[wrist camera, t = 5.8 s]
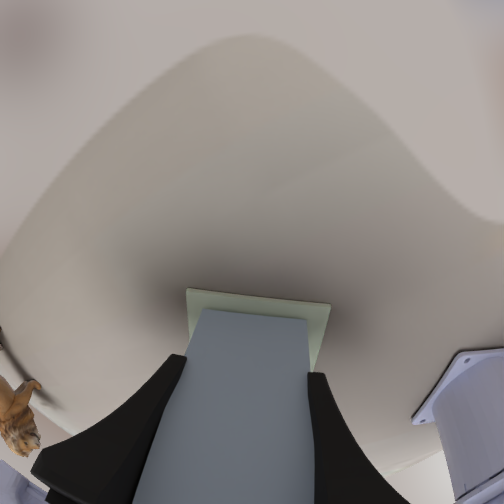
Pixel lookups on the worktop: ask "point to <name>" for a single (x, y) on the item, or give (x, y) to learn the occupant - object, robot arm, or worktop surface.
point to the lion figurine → (18, 417)
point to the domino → (236, 417)
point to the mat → (262, 312)
